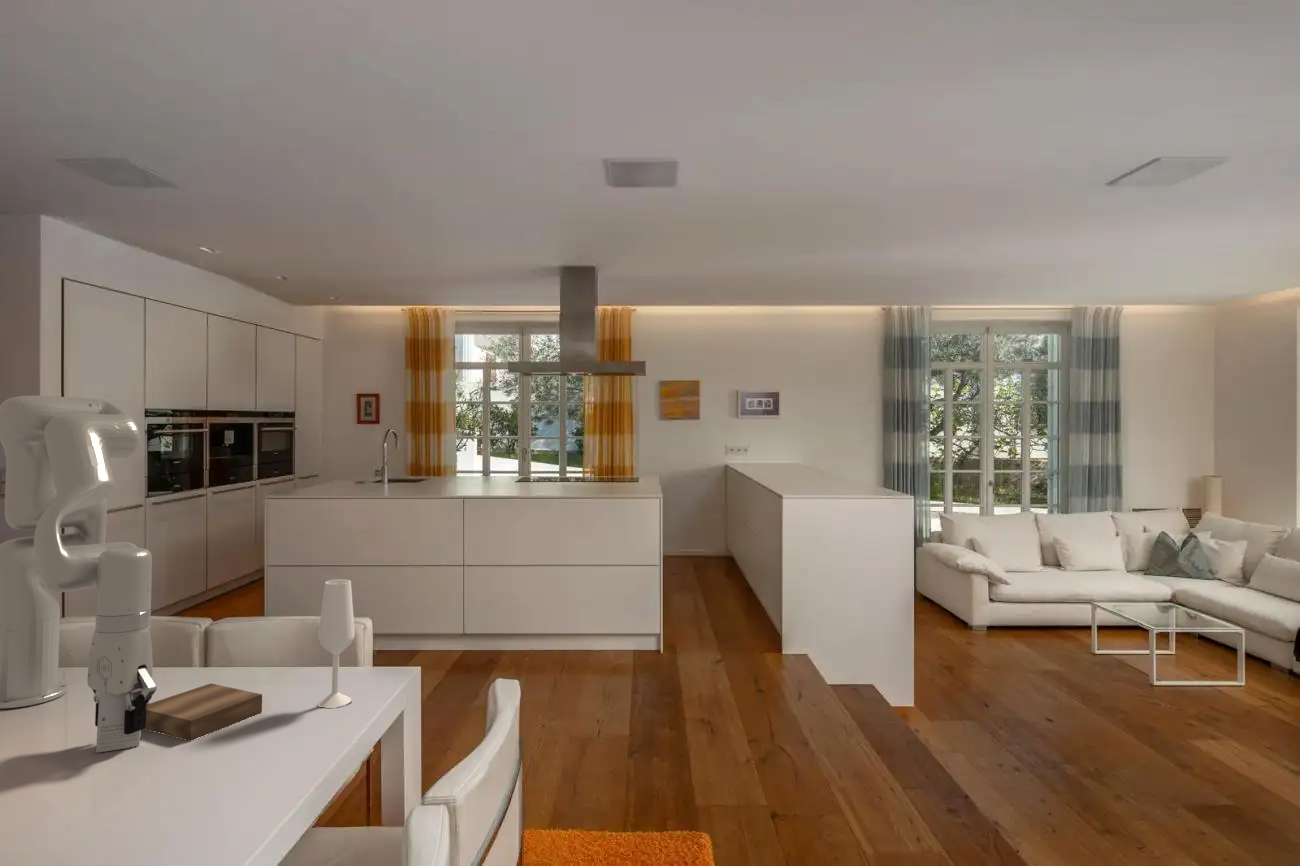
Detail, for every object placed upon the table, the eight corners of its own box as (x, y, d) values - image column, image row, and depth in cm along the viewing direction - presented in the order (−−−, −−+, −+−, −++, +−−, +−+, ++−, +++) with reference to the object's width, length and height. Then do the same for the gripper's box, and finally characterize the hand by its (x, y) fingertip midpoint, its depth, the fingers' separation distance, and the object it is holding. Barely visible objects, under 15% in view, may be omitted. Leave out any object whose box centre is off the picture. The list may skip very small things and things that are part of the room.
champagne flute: (312, 700, 144) (315, 580, 144) (347, 693, 148) (351, 577, 148) (320, 711, 138) (324, 586, 138) (357, 704, 142) (360, 583, 143)
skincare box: (95, 754, 118) (97, 680, 118) (98, 744, 122) (100, 672, 122) (141, 746, 121) (143, 674, 121) (142, 736, 125) (144, 667, 125)
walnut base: (136, 729, 129) (137, 707, 129) (210, 703, 142) (210, 683, 142) (190, 744, 124) (191, 720, 124) (261, 715, 137) (262, 694, 137)
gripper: (66, 620, 121) (63, 726, 121) (134, 633, 115) (130, 745, 115) (113, 611, 128) (110, 711, 128) (180, 623, 122) (177, 728, 122)
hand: (120, 726), depth 122 cm, fingers closed on skincare box, 6 cm apart
